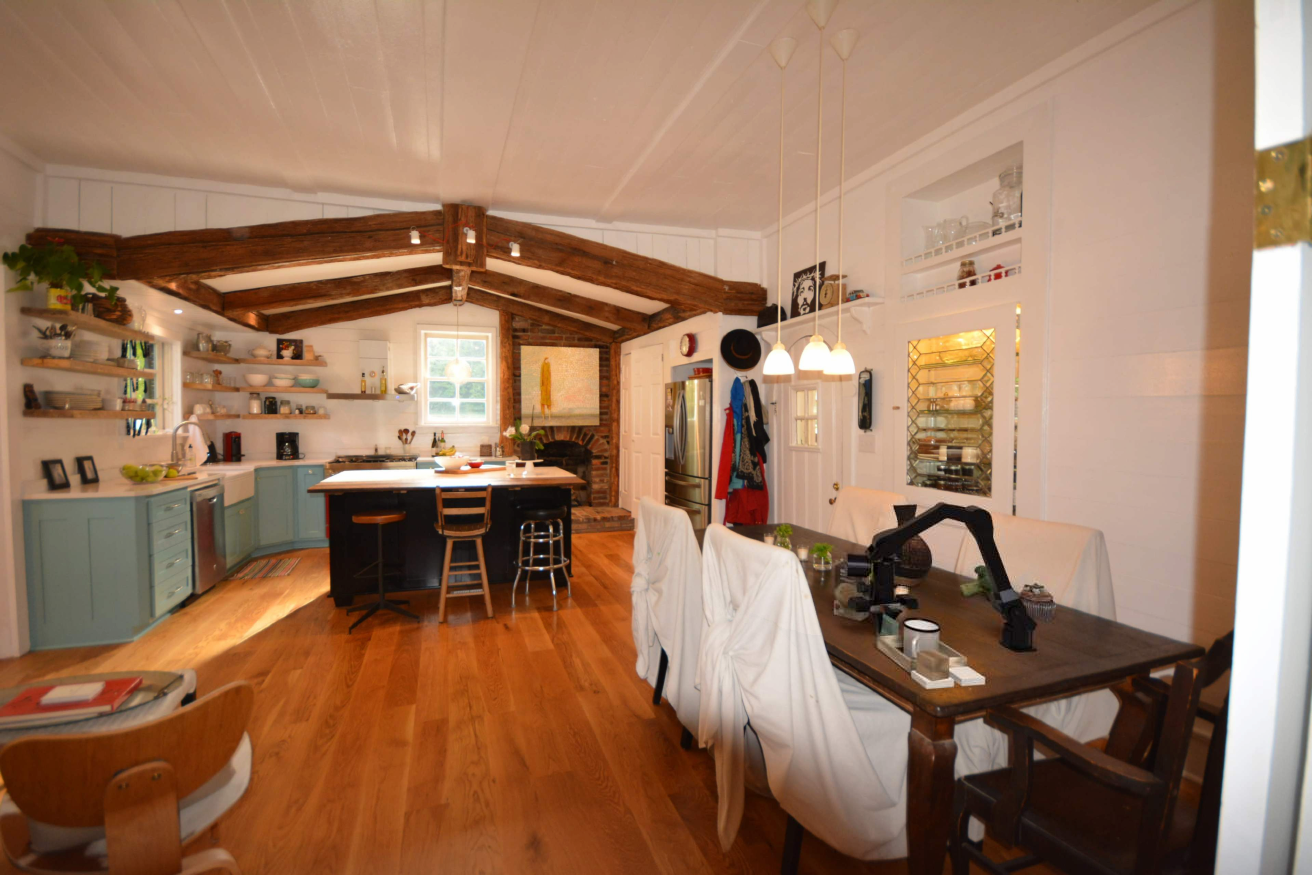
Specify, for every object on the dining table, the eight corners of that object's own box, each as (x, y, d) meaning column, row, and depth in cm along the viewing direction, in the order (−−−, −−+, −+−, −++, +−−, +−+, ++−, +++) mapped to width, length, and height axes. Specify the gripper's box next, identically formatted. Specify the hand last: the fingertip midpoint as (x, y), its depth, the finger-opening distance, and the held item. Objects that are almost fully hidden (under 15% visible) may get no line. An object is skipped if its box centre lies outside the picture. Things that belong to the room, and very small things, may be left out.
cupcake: (1043, 624, 175) (1044, 591, 174) (1012, 613, 184) (1013, 582, 183) (1063, 619, 179) (1064, 587, 178) (1031, 609, 188) (1032, 578, 187)
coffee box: (832, 614, 183) (833, 564, 183) (841, 609, 188) (842, 560, 187) (860, 621, 177) (861, 569, 176) (869, 616, 182) (870, 565, 181)
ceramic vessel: (920, 595, 202) (922, 510, 201) (871, 585, 214) (872, 504, 212) (939, 582, 217) (941, 502, 216) (892, 573, 229) (893, 498, 228)
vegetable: (959, 582, 210) (1003, 568, 203) (973, 615, 201) (1019, 602, 195) (949, 568, 202) (994, 553, 196) (964, 602, 193) (1011, 587, 187)
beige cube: (932, 669, 141) (933, 649, 141) (949, 678, 136) (949, 657, 136) (916, 672, 139) (916, 651, 139) (932, 681, 135) (932, 660, 134)
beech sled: (909, 632, 168) (909, 610, 167) (966, 669, 144) (967, 644, 143) (860, 635, 165) (861, 613, 165) (910, 673, 141) (911, 648, 141)
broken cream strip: (967, 672, 142) (967, 666, 142) (984, 684, 137) (985, 677, 136) (911, 677, 140) (911, 670, 140) (926, 688, 134) (926, 682, 134)
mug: (906, 647, 158) (907, 614, 158) (944, 656, 152) (945, 622, 152) (893, 662, 149) (894, 627, 148) (933, 672, 143) (934, 636, 142)
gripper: (898, 569, 173) (897, 620, 174) (839, 571, 170) (838, 624, 171) (920, 579, 162) (919, 634, 163) (857, 583, 159) (857, 638, 160)
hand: (882, 632), depth 164 cm, fingers closed on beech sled, 2 cm apart
